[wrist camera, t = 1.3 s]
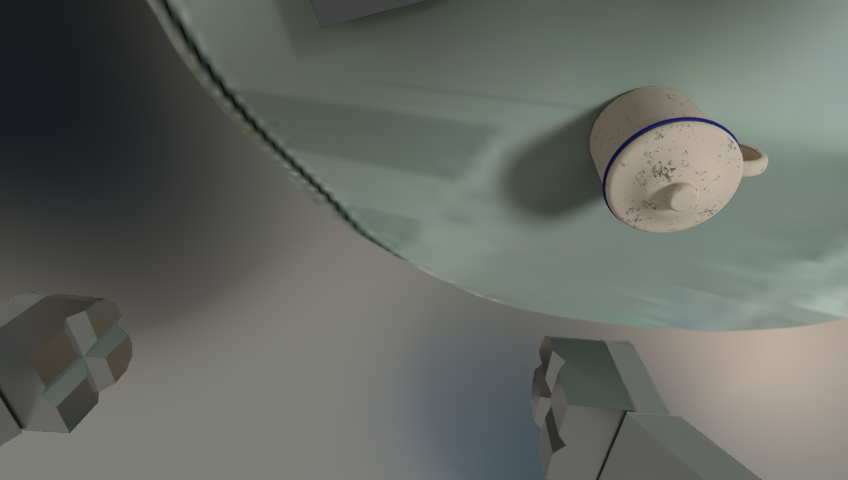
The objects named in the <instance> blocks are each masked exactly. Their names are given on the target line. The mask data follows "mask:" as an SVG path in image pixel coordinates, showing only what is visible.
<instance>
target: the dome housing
mask: <svg viewBox="0 0 848 480" xmlns="http://www.w3.org/2000/svg"><path fill="white" fill-rule="evenodd" d="M311 1H312V4H313V7H314V9H315V12H316V15H317V18H318V21H319V24H320V27H321V28H323V27H326V26H330V25H334V24H338V23H342V22H345V21H349V20H353V19H357V18H361V17H364V16H368V15H372V14H376V13H380V12H383V11H387V10H391V9H395V8H398V7H402V6H406V5H410V4H414V3H417V2H421V1H425V0H311Z"/></svg>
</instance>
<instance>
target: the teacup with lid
mask: <svg viewBox="0 0 848 480" xmlns="http://www.w3.org/2000/svg"><path fill="white" fill-rule="evenodd" d="M590 152H591V156H592V158H593V161H594V163H595V166H596V169H597V171H598V174H599V177H600V179H601V182H602V184H603V196H604V199H605V202H606V204H607V206H608V208H609V210H610V211H611V212H612V213H613V215H614V216H615V217H617V218H618V219H619V220H620V221H622V222H623V223H625V224H626V225H628V226H630V227H632V228H635V229H638V230H641V231H646V232H653V233H667V232H675V231H680V230H684V229H687V228H690V227H693V226H695V225H697V224H700V223H702V222H703V221H705V220H707V219H709V218H710V217H712V216H713V215H714V214H716V213H717V212H718V211H719V210H721V209H722V208H723V207H724V206H725V205H726V204H727V202H728V201H729V200H730V199H731V197H732V196H733V195H734V193H735V191H736V189H737V188H738V185H739V183H740V180H741V177H752V176H756V175H759V174H761V173H762V172H763V171H764V170H765V169H766V167H767V164H768V157H767V156H766V154H765V153H763V152H762V151H760V150H759V149H757V148H755V147H753V146H750V145H747V144H744V143H741V142H738V141H737V140H736V138H735V137H734V135H733V134H732V133H731V132H730V131H729V130H727V129H726V128H725V127H723V126H722V125H720V124H718V123H716V122H714V121H711V120H710V119H709V118H708V117H707V116H706V115H705V114H704V113H703V112H701V111H700V110H699V109H698V108H697V107H696V106H695V105H694V104H693V103H692V102H690V101H689V100H688V99H687V98H686V97H685V96H684V95H682V94H681V93H679V92H677V91H675V90H672V89H669V88H665V87H644V88H639V89H636V90H633V91H630V92H628V93H626V94H624V95H622V96H620V97H618V98H617V99H615V100H614V101H613V102H611V103H610V104H609V105H608V106H607V107H606V108H605V109H604V110H603V111H602V113H601V114H600V115H599V117H598V118H597V120H596V122H595V123H594V126H593V128H592V131H591V135H590Z"/></svg>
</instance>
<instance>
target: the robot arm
mask: <svg viewBox="0 0 848 480" xmlns="http://www.w3.org/2000/svg"><path fill="white" fill-rule="evenodd" d="M121 317H122V315H121V313H120V311H119V308H118V306H117V304H116V302H113V301H111V300H108V299H102V298H93V297H85V296H75V295H66V294H52V293H43V292H34V291H32V292H27V293H21V294H19V295H17V296H16V297H14V298H12V299H11V300H9V301H8V302H6V303H5V304H3V305H2V306H0V446H1V445H3V444H4V443H6V442H8V441H9V440H11V439H13V438H14V437H16V436H17V435H19V434H21V433H22V431H21V430H28V431H43V432H58V433H71V431H72V430H73V429H74V428H75V427H76V426H77V425H78V424H79V423H80V422H81V420H82V419H83V418H84V417H85V416H86V415H87V414H88V413H89V412H90V411H91V410H92V408H93V407H94V406H95V405H96V404H97V403H98V398H99V392H100V391H101V390H103V389H105V388H107V387H109V386H111V385H113V384H115V383H116V382H117V381H118V380H119V379H120V377H121V376H122V375H123V374H124V373H125V372H126V370H127V368H128V365H129V362H130V360H131V358H132V342H131V339H130V337H129V334H128V333H127V332H125V331H124V330H123V329H122V328H121V327H120V326H119V325H118V323H119V321H120V319H121ZM539 354H540V358H541V363H542V365H540V366H539V367H538V368H536V369H535V371H534V376H533V381H532V392H531V393H532V394H531V401H532V411H533V416H534V422H535V423H536V424H537V425H538V426H539V427H540V428H541V429H542V431H541V435H540V439H539V443H538V444H539V450H540V454H541V460H542V464H543V470H544V475H545V479H550V480H762V479H760V478H759V477H758V476H756V475H755V474H754V473H752V472H751V471H750V470H748V469H747V468H746V467H745V466H743V465H742V464H741V463H740V462H738V461H737V460H736V459H735V458H733V457H732V456H731V455H729V454H728V453H727V452H725V451H724V450H723V449H722V448H720V447H719V446H717V445H716V444H715V443H714V442H713V441H711V440H710V439H709V438H707V437H706V436H705V435H704V434H702V433H701V432H699V431H698V430H697V429H696V428H695V427H693V426H692V425H691V424H689V423H688V422H687V421H686V420H684V419H683V418H682V417H679V416H671V414H670V412H669V411H668V409H667V407H666V405H665V403H664V401H663V400H662V397H661V396H660V394H659V392H658V390H657V388H656V386H655V384H654V382H653V381H652V379H651V377H650V375H649V373H648V371H647V369H646V367H645V366H644V364H643V362H642V360H641V358H640V356H639V354H638V353H637V351H636V349H635V347H634V345H633V344H631V343H630V342H629V341H615V340H614V341H613V340H591V339H579V338H566V337H553V336H545V337H544V338H543V340H542V342H541V346H540V350H539Z"/></svg>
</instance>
